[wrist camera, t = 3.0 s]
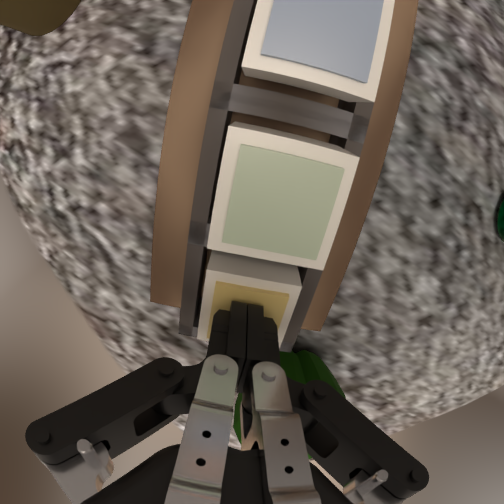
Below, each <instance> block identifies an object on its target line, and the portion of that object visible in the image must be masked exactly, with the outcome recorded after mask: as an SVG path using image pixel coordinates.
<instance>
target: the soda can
mask: <svg viewBox="0 0 504 504" xmlns="http://www.w3.org/2000/svg"><path fill="white" fill-rule="evenodd" d="M497 228H498V233H499V236H500V238H501V240H502V241H503V242H504V198H503V199H502V201H501V203H500V206H499V209H498V214H497Z"/></svg>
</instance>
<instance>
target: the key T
mask: <svg viewBox="0 0 504 504" xmlns="http://www.w3.org/2000/svg"><path fill="white" fill-rule="evenodd" d="M394 3H395V0H258V1H257V5H256V8H255V12H254V16H253V20H252V24H251V28H250V32H249V36H248V40H247V44H246V49H245V53H244V57H243V61H242V66H241V67H242V70H243V72H244V75H245V76H248V77H253V78H258V79H263V80H268V81H273V82H277V83H282V84H286V85H290V86H294V87H298V88H302V89H306V90H310V91H314V92H317V93H321V94H324V95H328V96H331V97H334V98H338V99H341V100H344V101H347V102H375V98H376V94H377V89H378V85H379V81H380V76H381V72H382V67H383V63H384V58H385V53H386V48H387V43H388V38H389V32H390V27H391V21H392V15H393V9H394Z"/></svg>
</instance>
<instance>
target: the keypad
mask: <svg viewBox="0 0 504 504" xmlns="http://www.w3.org/2000/svg"><path fill="white" fill-rule="evenodd" d="M257 1H258V0H193V1H192V4H191V8H190V12H189V15H188V19H187V23H186V27H185V31H184V35H183V39H182V43H181V47H180V51H179V56H178V60H177V65H176V70H175V74H174V79H173V84H172V90H171V95H170V100H169V106H168V112H167V118H166V124H165V131H164V137H163V144H162V151H161V159H160V167H159V175H158V184H157V194H156V205H155V216H154V229H153V244H152V264H151V294H150V302H155V303H159V304H164V305H169V306H173V307H178V308H181V309H180V321H179V334H182V335H187V336H192V337H197V334H198V326H199V319H200V312H201V304H202V297H203V290H204V284H205V277H206V270H207V266H208V263H209V259H210V256H211V252H212V249H207V243H208V237H209V231H210V225H211V218H212V213H213V207H214V201H215V195H216V189H217V184H218V178H219V173H220V167H221V162H222V157H223V151H224V146H225V141H226V136H227V131H228V126H229V125H230V124H232V123H233V122H241V123H246V124H251V125H256V126H261V127H266V128H270V129H275V130H279V131H284V132H288V133H292V134H296V135H300V136H304V137H308V138H312V139H316V140H319V141H323V142H327V143H330V144H334V145H337V146H339V147H341V148H343V149H345V150H347V151H349V152H351V153H352V154H354V155H356V156H358V157H360V159H359V162H358V166H357V169H356V172H355V176H354V179H353V182H352V186H351V189H350V192H349V195H348V199H347V202H346V205H345V208H344V211H343V214H342V217H341V220H340V223H339V226H338V229H337V232H336V235H335V238H334V241H333V244H332V247H331V250H330V253H329V256H328V258H327V261H326V264H325V267H324V269H323V270H318V269H313V268H307V267H302V266H298V271H299V275H300V279H301V284H302V289H301V291H300V294H299V297H298V300H297V303H296V305H295V308H294V311H293V314H292V316H291V319H290V322H289V325H288V327H287V330H286V333H285V335H284V338H283V341H282V343H281V346H280V349H279V351H284V352H291V351H292V349H293V346H294V344H295V341H296V339H297V337H298V334H299V332H300V329H307V330H314V331H321V328H322V326H323V324H324V322H325V320H326V317H327V315H328V313H329V310H330V308H331V306H332V303H333V301H334V299H335V296H336V294H337V292H338V289H339V287H340V284H341V282H342V279H343V277H344V274H345V272H346V269H347V267H348V264H349V262H350V259H351V256H352V254H353V251H354V249H355V246H356V243H357V241H358V238H359V235H360V232H361V230H362V227H363V224H364V221H365V218H366V215H367V212H368V210H369V207H370V204H371V201H372V198H373V195H374V191H375V188H376V185H377V182H378V179H379V176H380V172H381V169H382V166H383V163H384V159H385V156H386V152H387V149H388V145H389V142H390V138H391V134H392V131H393V127H394V123H395V119H396V115H397V111H398V107H399V103H400V99H401V95H402V90H403V86H404V81H405V77H406V72H407V67H408V62H409V57H410V51H411V46H412V40H413V34H414V28H415V21H416V14H417V7H418V0H395V3H394V9H393V15H392V21H391V27H390V32H389V38H388V43H387V48H386V53H385V58H384V63H383V67H382V72H381V76H380V81H379V85H378V89H377V94H376V98H375V102H347V101H344V100H341V99H338V98H334V97H331V96H328V95H324V94H321V93H317V92H314V91H310V90H306V89H302V88H298V87H294V86H290V85H286V84H282V83H277V82H273V81H268V80H263V79H258V78H253V77H248V76H245V75H244V72H243V70H242V67H241V66H242V61H243V57H244V53H245V49H246V44H247V40H248V36H249V32H250V28H251V24H252V20H253V16H254V12H255V8H256V5H257Z"/></svg>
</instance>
